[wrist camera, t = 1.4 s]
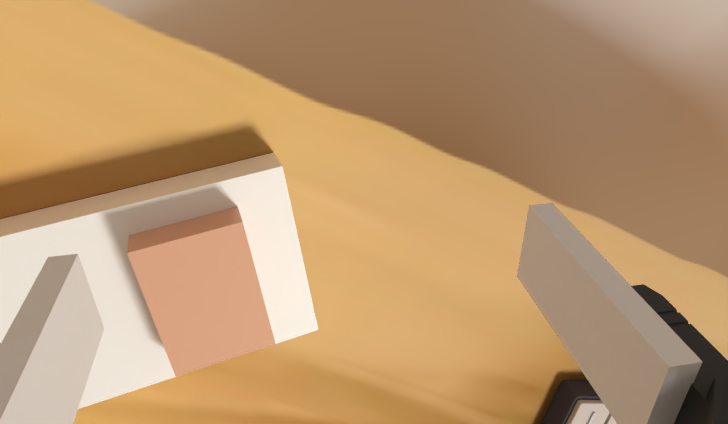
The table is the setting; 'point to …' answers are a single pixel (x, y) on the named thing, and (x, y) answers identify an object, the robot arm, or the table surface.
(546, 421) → the calculator
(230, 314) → the tile
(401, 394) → the table surface
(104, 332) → the panel
